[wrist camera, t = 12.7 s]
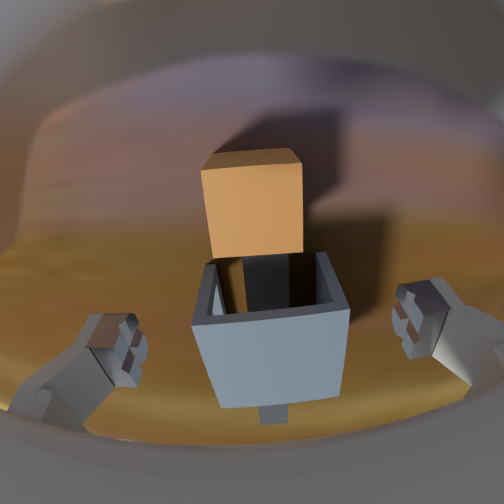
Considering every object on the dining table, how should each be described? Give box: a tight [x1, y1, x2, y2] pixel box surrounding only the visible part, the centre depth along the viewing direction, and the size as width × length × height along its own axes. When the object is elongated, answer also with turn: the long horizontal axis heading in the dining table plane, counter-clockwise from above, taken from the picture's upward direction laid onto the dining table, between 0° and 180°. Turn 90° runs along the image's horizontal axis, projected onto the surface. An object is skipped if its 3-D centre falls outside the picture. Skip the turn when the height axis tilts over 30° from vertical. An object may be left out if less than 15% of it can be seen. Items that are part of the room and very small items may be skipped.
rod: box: [242, 253, 289, 425], centre depth 26 cm, size 23×3×3 cm, turn 4°
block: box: [201, 148, 303, 258], centre depth 18 cm, size 5×5×5 cm
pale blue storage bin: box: [191, 251, 350, 408], centre depth 22 cm, size 9×9×7 cm
